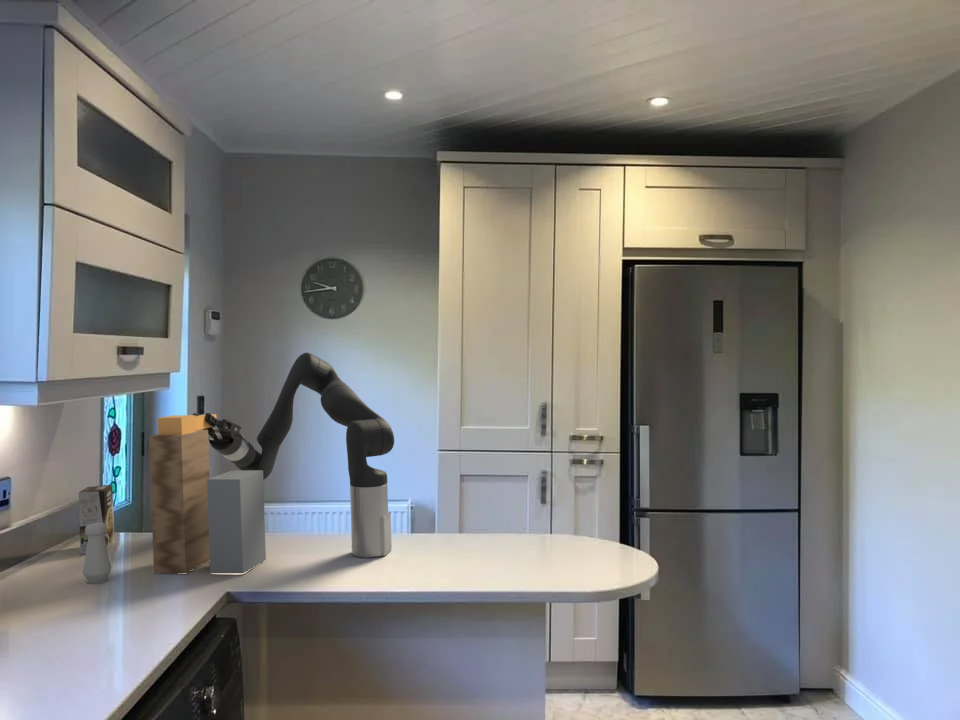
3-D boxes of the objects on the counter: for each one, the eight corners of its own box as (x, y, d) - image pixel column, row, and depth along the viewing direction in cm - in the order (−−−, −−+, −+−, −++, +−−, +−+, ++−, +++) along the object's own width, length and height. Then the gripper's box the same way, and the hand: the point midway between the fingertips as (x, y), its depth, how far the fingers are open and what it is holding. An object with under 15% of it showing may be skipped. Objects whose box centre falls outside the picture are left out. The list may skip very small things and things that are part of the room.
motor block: (265, 560, 181) (263, 470, 181) (242, 575, 169) (239, 479, 169) (235, 559, 182) (232, 470, 182) (210, 574, 170) (207, 479, 170)
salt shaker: (84, 579, 169) (82, 522, 169) (112, 575, 172) (110, 519, 172) (82, 586, 164) (80, 527, 164) (111, 582, 167) (109, 524, 166)
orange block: (222, 425, 192) (221, 410, 191) (181, 434, 173) (181, 417, 173) (200, 425, 192) (200, 410, 192) (158, 435, 174) (157, 417, 174)
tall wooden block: (212, 559, 183) (208, 429, 182) (185, 574, 171) (181, 435, 171) (182, 558, 184) (177, 430, 184) (153, 573, 172) (149, 436, 172)
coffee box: (106, 552, 192) (104, 490, 191) (79, 554, 190) (77, 492, 190) (115, 543, 201) (113, 484, 200) (89, 545, 199) (87, 485, 199)
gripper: (208, 430, 204) (177, 403, 189) (256, 429, 202) (229, 402, 187) (202, 455, 201) (170, 430, 186) (251, 455, 199) (222, 430, 184)
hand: (200, 416), depth 186 cm, fingers closed on orange block, 3 cm apart
